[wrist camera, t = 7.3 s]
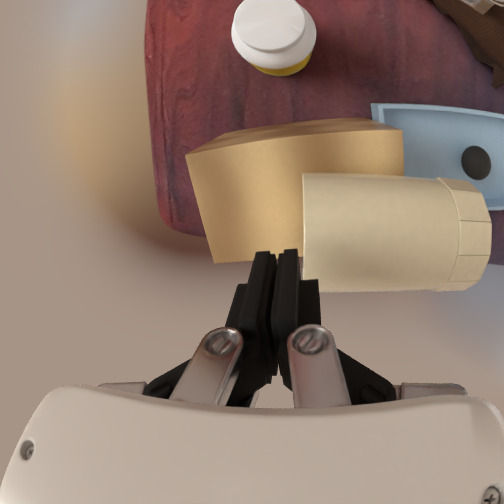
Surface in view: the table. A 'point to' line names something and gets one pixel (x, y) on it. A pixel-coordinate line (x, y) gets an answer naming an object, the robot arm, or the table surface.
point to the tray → (448, 142)
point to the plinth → (279, 178)
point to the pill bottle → (274, 35)
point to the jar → (392, 232)
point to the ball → (476, 162)
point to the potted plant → (480, 30)
